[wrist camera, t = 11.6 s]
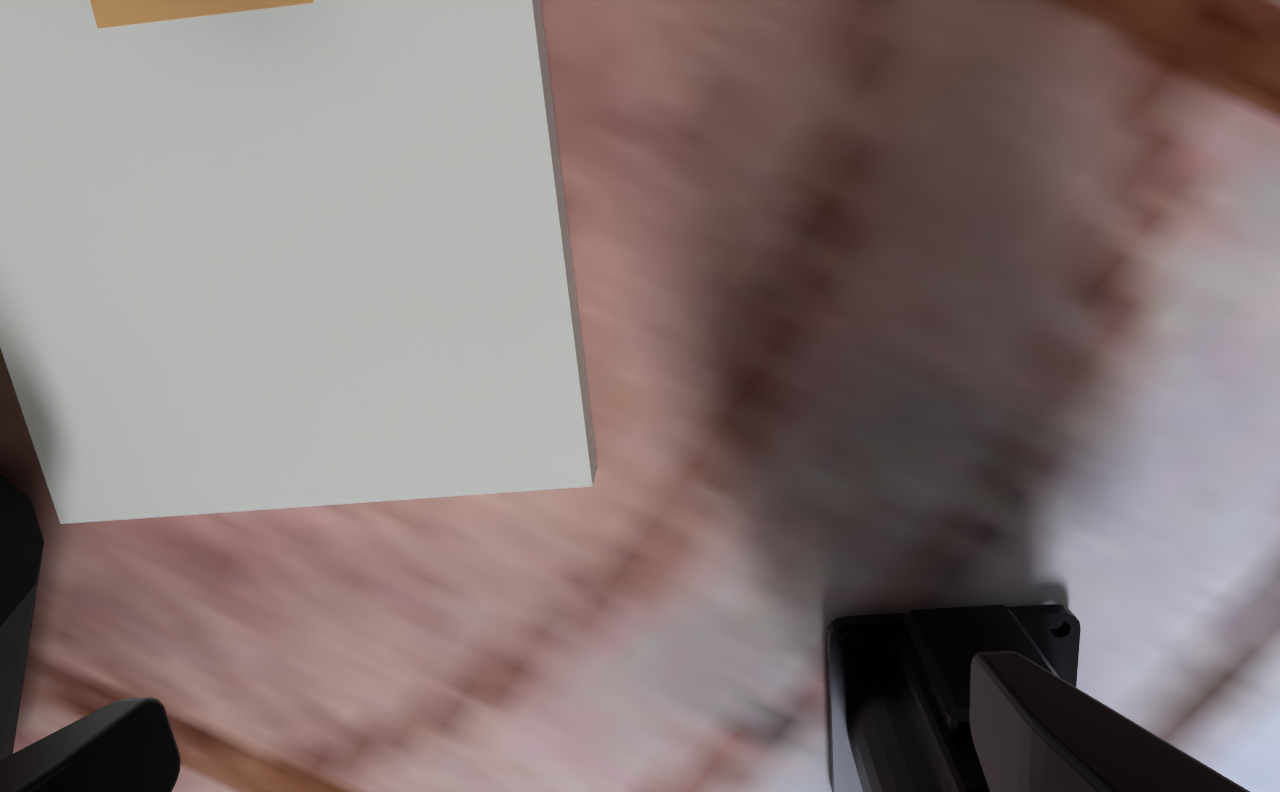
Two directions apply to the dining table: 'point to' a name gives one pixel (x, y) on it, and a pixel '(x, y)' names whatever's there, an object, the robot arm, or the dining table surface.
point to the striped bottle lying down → (15, 600)
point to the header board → (286, 254)
